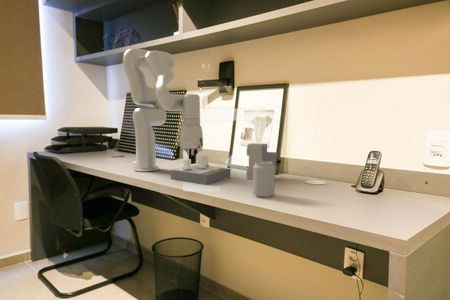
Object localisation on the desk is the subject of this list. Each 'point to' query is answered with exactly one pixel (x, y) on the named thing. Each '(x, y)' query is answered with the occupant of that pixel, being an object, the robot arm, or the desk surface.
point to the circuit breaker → (259, 157)
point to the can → (263, 179)
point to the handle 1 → (187, 164)
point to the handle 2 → (206, 159)
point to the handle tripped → (202, 163)
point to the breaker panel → (201, 174)
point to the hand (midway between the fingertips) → (192, 163)
